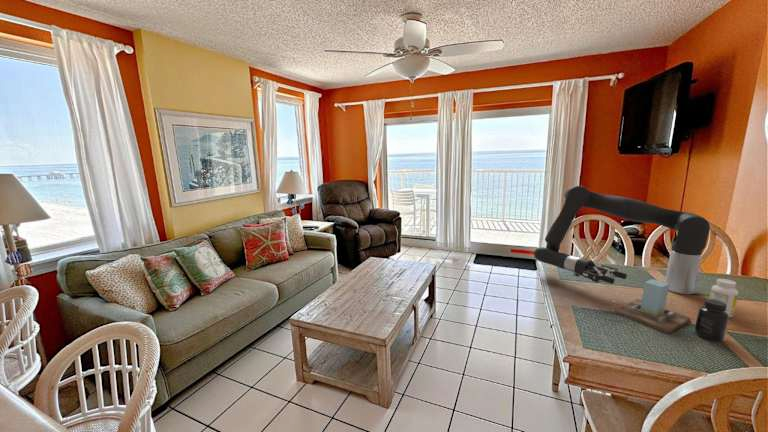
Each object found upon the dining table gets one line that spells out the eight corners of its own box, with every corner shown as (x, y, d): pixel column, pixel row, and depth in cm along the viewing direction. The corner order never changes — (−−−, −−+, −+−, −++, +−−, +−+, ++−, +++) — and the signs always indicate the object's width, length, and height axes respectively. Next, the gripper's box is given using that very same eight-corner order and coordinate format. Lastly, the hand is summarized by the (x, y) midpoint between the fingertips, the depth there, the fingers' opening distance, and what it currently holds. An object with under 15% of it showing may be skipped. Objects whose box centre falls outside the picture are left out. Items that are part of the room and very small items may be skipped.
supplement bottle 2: (730, 343, 97) (738, 308, 94) (704, 341, 98) (711, 307, 95) (712, 330, 103) (719, 298, 101) (688, 328, 105) (694, 296, 102)
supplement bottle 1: (725, 310, 115) (732, 278, 113) (738, 319, 109) (746, 285, 106) (702, 307, 117) (709, 276, 115) (713, 316, 111) (721, 283, 109)
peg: (647, 308, 116) (652, 279, 113) (663, 314, 111) (669, 284, 109) (639, 311, 114) (644, 281, 111) (656, 318, 109) (661, 287, 107)
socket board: (637, 301, 123) (638, 295, 123) (690, 320, 109) (691, 314, 108) (614, 311, 116) (615, 305, 116) (667, 333, 102) (668, 326, 102)
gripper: (569, 260, 131) (610, 273, 117) (589, 254, 137) (631, 266, 123) (567, 277, 133) (608, 292, 118) (587, 270, 139) (628, 283, 124)
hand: (620, 279), depth 121 cm, fingers open, 8 cm apart
